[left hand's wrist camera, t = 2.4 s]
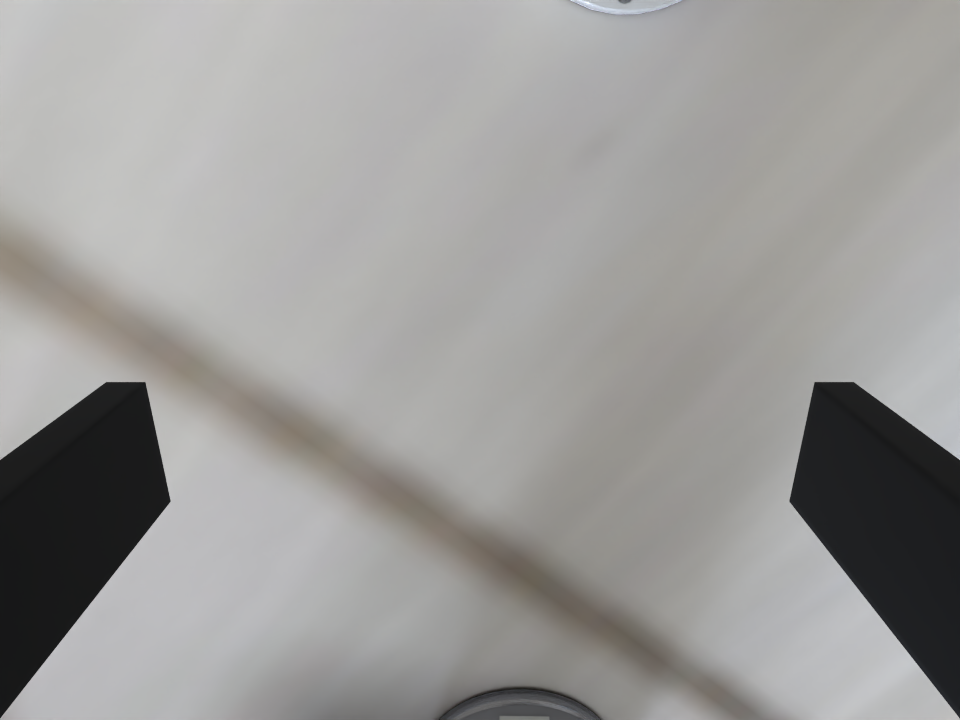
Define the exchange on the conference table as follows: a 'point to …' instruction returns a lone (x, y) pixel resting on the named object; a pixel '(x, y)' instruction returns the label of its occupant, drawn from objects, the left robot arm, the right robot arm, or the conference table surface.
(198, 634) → the conference table surface
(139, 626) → the conference table surface
